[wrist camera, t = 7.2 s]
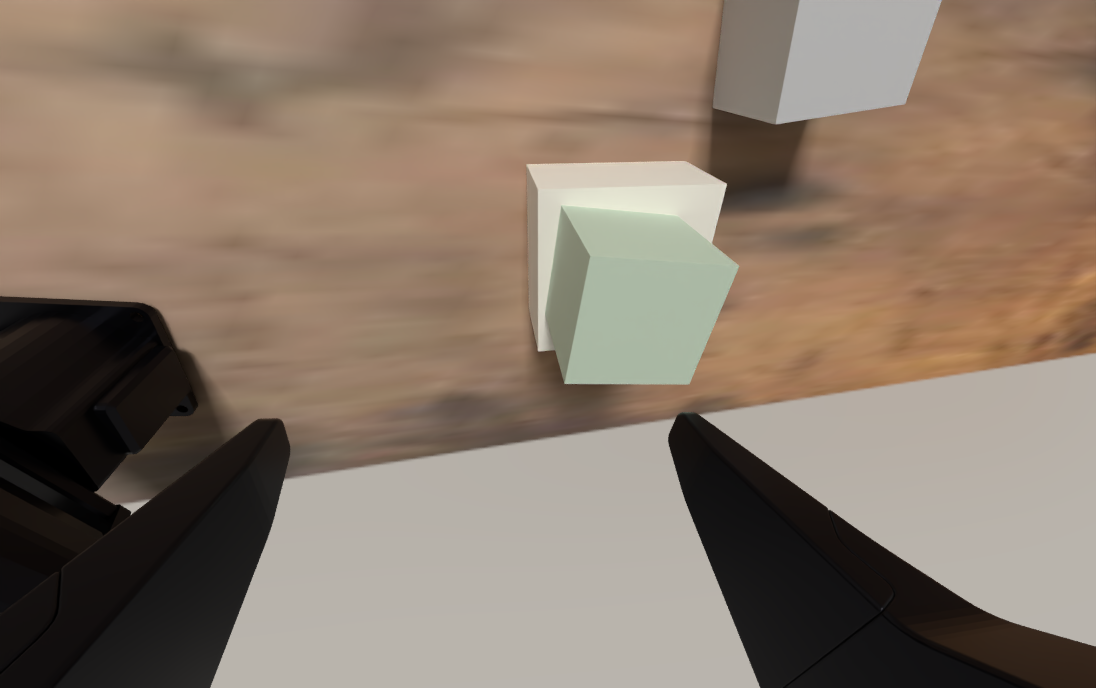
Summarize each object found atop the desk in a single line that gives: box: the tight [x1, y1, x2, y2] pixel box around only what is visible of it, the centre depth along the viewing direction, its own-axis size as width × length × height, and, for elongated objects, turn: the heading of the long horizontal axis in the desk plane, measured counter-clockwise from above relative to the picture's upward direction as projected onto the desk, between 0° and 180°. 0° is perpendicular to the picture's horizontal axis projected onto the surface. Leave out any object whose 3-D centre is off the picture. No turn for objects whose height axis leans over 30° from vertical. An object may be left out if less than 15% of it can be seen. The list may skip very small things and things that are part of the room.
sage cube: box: [545, 205, 739, 384], centre depth 15 cm, size 4×4×4 cm
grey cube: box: [712, 0, 942, 124], centre depth 14 cm, size 4×4×4 cm
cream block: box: [526, 161, 727, 351], centre depth 18 cm, size 7×7×4 cm
